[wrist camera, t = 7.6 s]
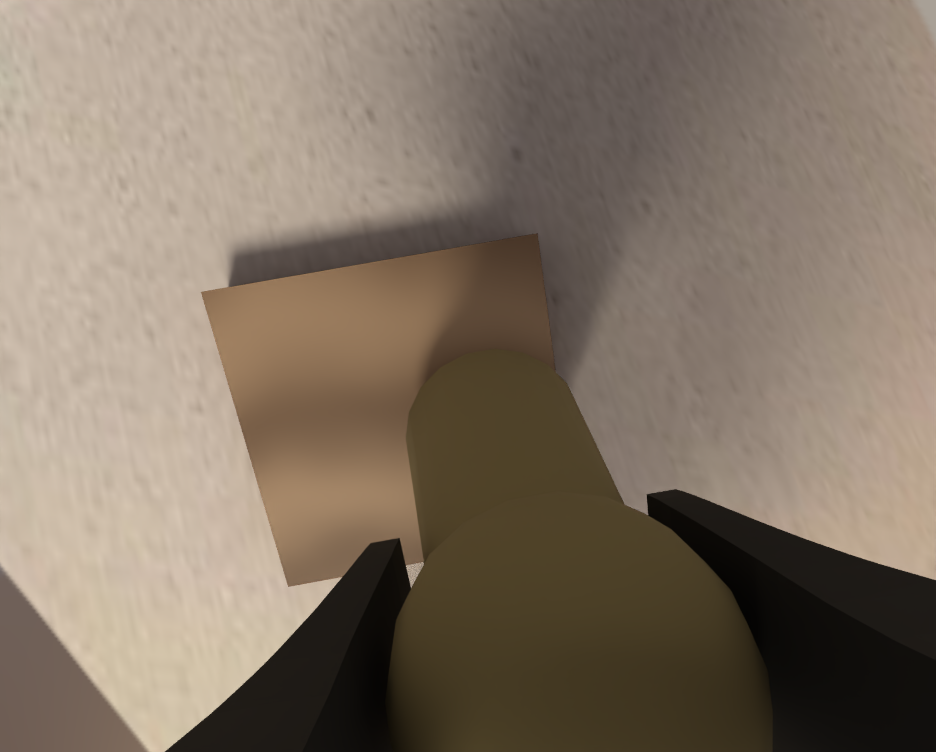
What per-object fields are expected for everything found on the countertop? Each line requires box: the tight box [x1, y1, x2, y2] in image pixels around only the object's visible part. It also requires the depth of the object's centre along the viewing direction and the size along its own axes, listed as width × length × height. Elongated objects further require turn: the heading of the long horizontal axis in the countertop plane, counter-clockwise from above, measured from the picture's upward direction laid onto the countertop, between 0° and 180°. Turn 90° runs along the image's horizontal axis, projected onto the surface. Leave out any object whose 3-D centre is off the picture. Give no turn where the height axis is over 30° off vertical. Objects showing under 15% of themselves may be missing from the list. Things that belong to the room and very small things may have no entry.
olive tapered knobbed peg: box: [385, 349, 773, 752], centre depth 10 cm, size 6×6×11 cm
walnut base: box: [201, 233, 556, 587], centre depth 18 cm, size 12×12×2 cm
